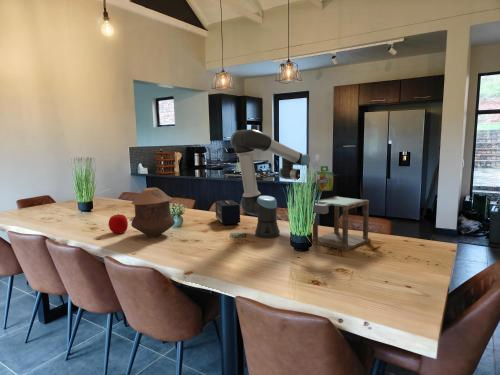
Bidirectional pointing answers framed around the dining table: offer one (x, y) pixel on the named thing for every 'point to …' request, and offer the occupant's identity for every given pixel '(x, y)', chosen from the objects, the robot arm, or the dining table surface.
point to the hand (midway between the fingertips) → (325, 176)
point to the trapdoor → (336, 201)
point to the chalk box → (325, 180)
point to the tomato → (118, 224)
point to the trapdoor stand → (343, 238)
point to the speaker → (228, 212)
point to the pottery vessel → (152, 212)
